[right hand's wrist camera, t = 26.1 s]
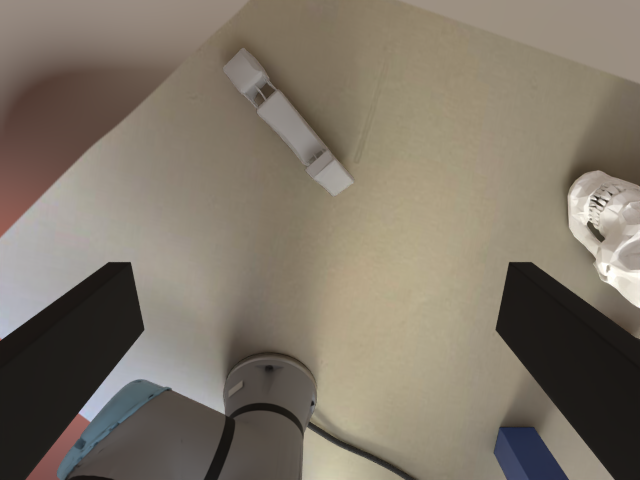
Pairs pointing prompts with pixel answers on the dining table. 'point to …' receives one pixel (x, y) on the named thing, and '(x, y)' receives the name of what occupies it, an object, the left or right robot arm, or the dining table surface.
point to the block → (525, 455)
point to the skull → (609, 228)
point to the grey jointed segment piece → (288, 123)
